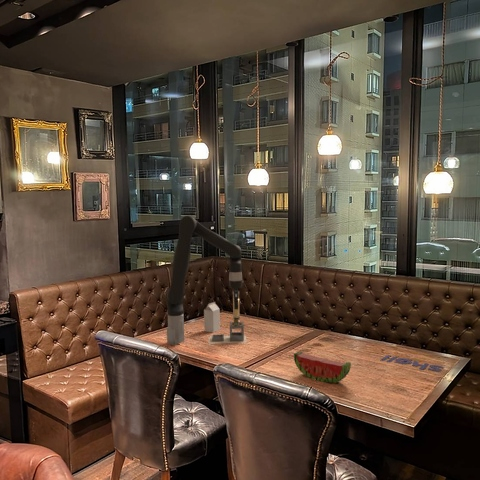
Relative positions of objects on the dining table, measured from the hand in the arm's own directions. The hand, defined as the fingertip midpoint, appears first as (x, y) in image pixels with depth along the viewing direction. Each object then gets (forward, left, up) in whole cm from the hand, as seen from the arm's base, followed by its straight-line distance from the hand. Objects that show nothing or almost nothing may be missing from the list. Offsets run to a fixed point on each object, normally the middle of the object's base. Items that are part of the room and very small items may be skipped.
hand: (236, 308), depth 254 cm
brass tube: (0, 0, -10) cm, 10 cm away
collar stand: (-4, +3, -18) cm, 19 cm away
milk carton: (+2, +24, -20) cm, 32 cm away
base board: (-5, +4, -20) cm, 21 cm away
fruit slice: (-12, -68, -20) cm, 72 cm away
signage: (+34, -90, -21) cm, 98 cm away
